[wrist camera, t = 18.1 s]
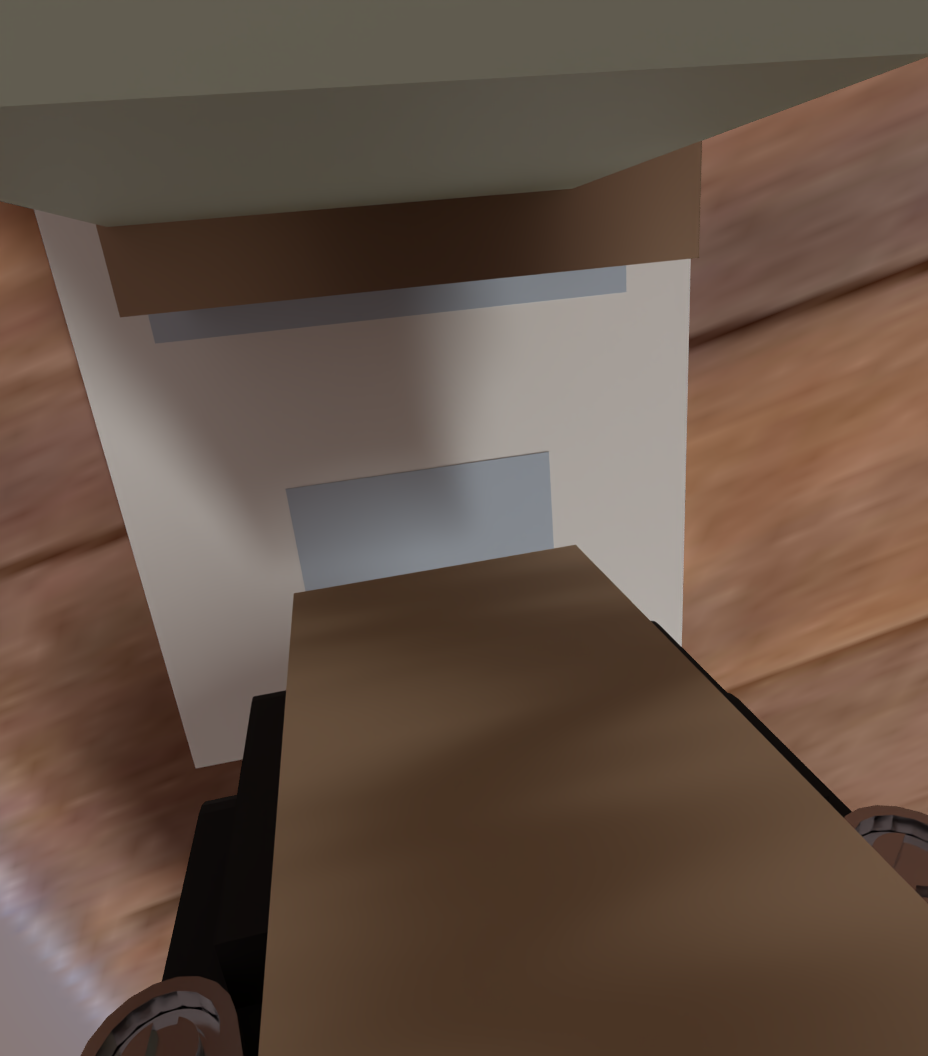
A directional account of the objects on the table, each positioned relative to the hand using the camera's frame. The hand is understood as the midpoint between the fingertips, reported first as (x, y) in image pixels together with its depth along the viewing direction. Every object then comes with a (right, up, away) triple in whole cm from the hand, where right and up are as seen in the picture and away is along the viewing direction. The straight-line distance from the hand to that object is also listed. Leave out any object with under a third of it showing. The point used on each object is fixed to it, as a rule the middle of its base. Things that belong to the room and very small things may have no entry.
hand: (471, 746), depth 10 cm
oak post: (0, +1, +1) cm, 1 cm away
